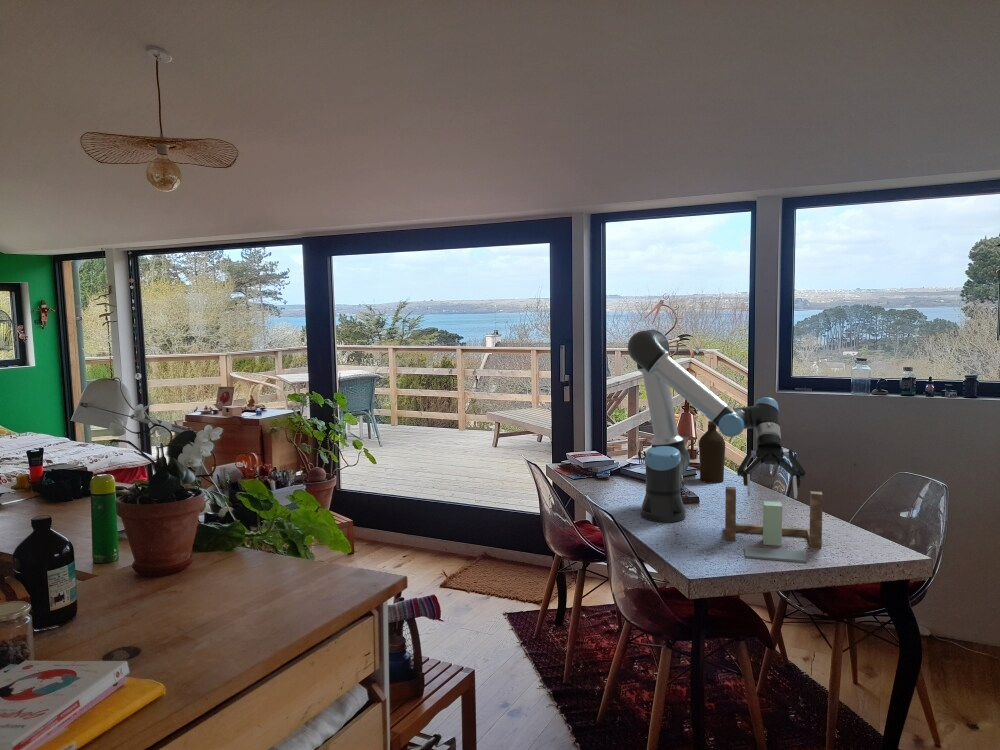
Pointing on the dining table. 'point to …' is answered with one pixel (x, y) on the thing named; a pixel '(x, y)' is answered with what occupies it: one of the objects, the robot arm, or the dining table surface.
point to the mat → (775, 554)
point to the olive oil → (712, 455)
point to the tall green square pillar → (772, 523)
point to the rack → (812, 534)
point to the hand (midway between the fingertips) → (772, 495)
